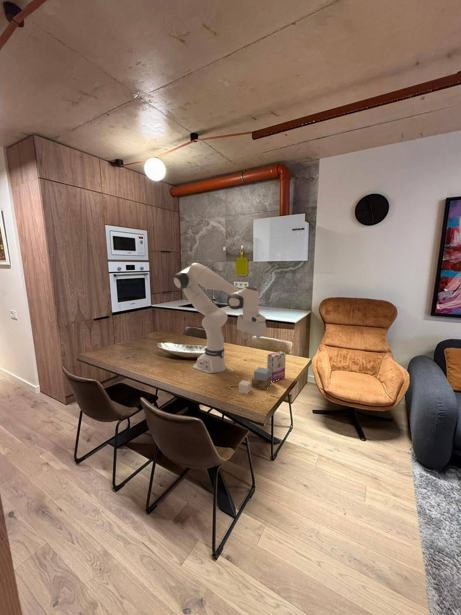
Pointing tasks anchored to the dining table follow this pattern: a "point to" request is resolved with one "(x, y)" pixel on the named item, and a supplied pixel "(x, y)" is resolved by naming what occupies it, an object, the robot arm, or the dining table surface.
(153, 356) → the dining table surface
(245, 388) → the cream cube
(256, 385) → the tan wooden block
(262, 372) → the grey square block
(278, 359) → the candy bar box
